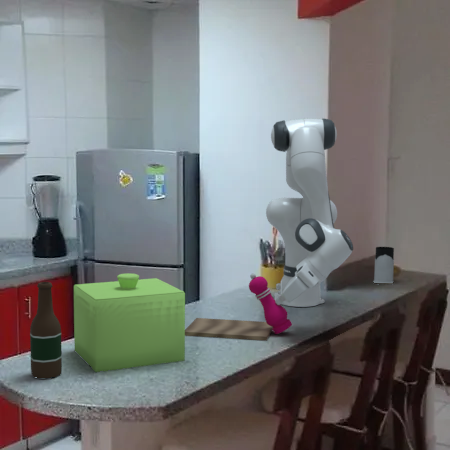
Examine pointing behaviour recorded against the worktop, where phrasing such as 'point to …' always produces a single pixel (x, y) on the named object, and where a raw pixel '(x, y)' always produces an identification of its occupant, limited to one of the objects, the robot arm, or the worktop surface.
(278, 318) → the pepper mill
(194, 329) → the walnut board
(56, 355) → the beer bottle
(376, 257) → the glass holder
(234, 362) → the worktop surface
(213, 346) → the worktop surface
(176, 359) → the canister
